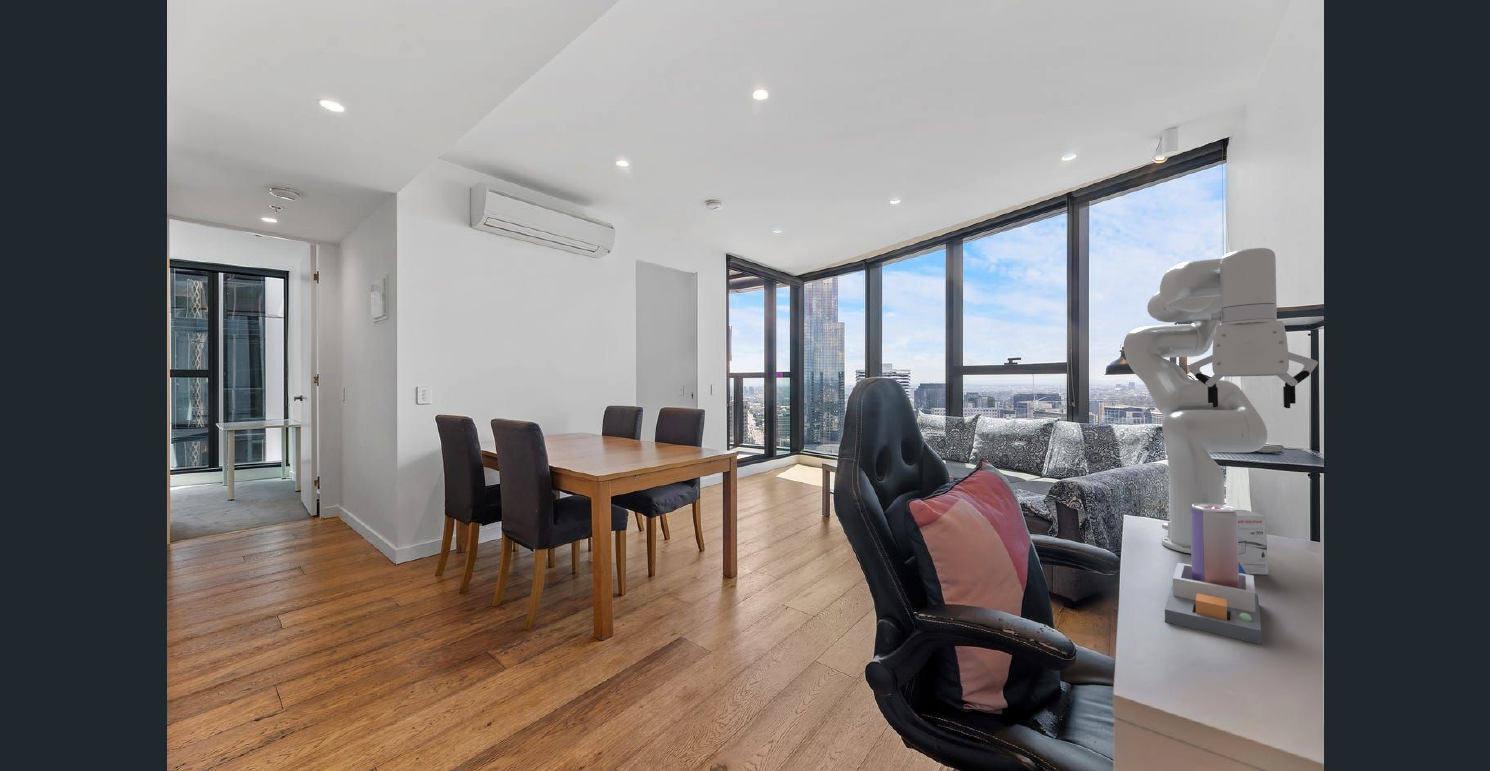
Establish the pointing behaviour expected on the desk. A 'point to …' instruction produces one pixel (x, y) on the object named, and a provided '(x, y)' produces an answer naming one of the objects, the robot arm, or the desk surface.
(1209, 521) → the beverage can
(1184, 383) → the robot arm
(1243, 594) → the panel
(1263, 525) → the ink box
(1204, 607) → the button
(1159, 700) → the desk surface
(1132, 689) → the desk surface
